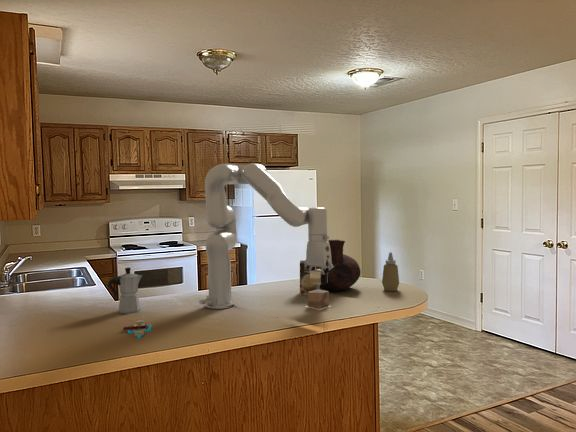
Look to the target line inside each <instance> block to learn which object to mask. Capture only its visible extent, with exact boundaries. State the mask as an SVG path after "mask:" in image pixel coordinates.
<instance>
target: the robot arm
mask: <svg viewBox="0 0 576 432" xmlns="http://www.w3.org/2000/svg"><path fill="white" fill-rule="evenodd" d="M226 185H249V186H251V188H253V190H254V191H256V193H258V194H259V195H260V196H261V197H262V198H263V199H264V200H265V201H266V202H267V204H268V205H269V206H270V208H271V209H272V210H273V211H274V212H275V214H277V215H278V216H279V217H280V219H283V221H284V222H285V223H287V225H289V226H291V227H294V228H297V227H301V226H304V225H308V226H307V227H308V229H307V230H308V231H307V232H308V233H307V235H308V241H307V244H306V251H305V253H306V254H305V255H306V256H305V257H306V258H305V260H304V261H305V262H304V264H305V266H306V267H307V268H308V270H309V273H310V271H311V270H315V269H316V266H317V267H321V271H322V274H321V284H326V283H327V274H328V273H329V271H330V270H331V269H332V268H333V267H334V266H333V264H332V259H331V249H330V244H329V242H328V241H327V240H330V237H329V236H328V220H327V218H328V215H327V214H328V213H327V208H326V207H323V206H322V207H319V206H317V207H314V206H313V207H305V206H297V205H296V204H294V202H293V201H292V200H291V199H290V198H288V196H287V195H286V194H285V192H284V190H283V187H282V186H281V184H280V183H279V182H277V181H276V180H275V179H274V178H273V177H272V175H270V174H269V173H268V170H267V168H266V167H265V166H264V165H263V164H260V163H255V162H252V163H248V164H230V163H220V164H218V165H214V166H213V167H212V168H211V169H210V170H209V171H208V172H207V173H206V176H205V179H204V193H205V212H206V222H207V225H209V227H211V228H213V229H215V231H213V232H212V233H210V234H209V235H208V236H207V238H206V239H205V251H206V256H207V280H208V281H207V282H208V295H206V298H204V299H200V300H199V305H201V306H202V305H204V304H205V307H206V308H207V309H212V310H223V309H229V308H232V307H235V304H236V301H235V300H233V299H232V269H231V267H232V266H231V265H232V264H231V258H230V257H231V256H230V251H232V250H233V249H234V248H235V246H236V245H237V242H238V241H237V240H238V239H237V237H238V236H237V234H238V233H237V219H236V213H235V211H234V210H233V208H232V207H231V206H230V205H227V194H226V190H225V187H226ZM327 266H328V267H327ZM324 268H325V270H324Z"/></svg>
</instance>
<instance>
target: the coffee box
mask: <svg viewBox="0 0 576 432" xmlns="http://www.w3.org/2000/svg"><path fill="white" fill-rule="evenodd" d="M304 262H305V260H300V261H299V296H308V292H309V291H313V290H317V289H319V290H321V289H320V285H318V284H312V283H310V273H309V270H308V268H307V267H306V266H305V264H304ZM316 269H320V267H317V266H316ZM316 269H315V270H316Z"/></svg>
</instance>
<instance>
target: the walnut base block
mask: <svg viewBox="0 0 576 432" xmlns="http://www.w3.org/2000/svg"><path fill="white" fill-rule="evenodd" d="M329 305H330V291H327V290H322V289H320V290H319V289H317V290H313V291H309V292H308V295H307V306H308V307H313V308H317V309H321V308H324V307H328V306H329ZM308 307H307V308H308ZM328 308H329V307H328ZM317 309H316V310H317Z"/></svg>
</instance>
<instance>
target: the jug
mask: <svg viewBox="0 0 576 432" xmlns="http://www.w3.org/2000/svg"><path fill="white" fill-rule="evenodd" d="M327 241H328V242H329V244H330V249H331V259H332V264H333V266H334V267H333V268H332V269H331V270H330V271H329V273H328V274H327V279H328V283H326V284H321V285H320V290H324V291H329V292H341V291H345V290H348V289H350V288H351V287H353V286H354V285H355V284H356V283H357V282H358V280H359V278H360V277H361V268H360V265H359V263H358V261H357V260H356V259H355V258H353V257H351V256H349V255H347V254H344V245H345V243H346V241H345V240H342V239H341V240H340V239H327ZM327 267H328V266H327ZM320 269H321V267H320ZM324 270H325V268H324Z"/></svg>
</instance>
